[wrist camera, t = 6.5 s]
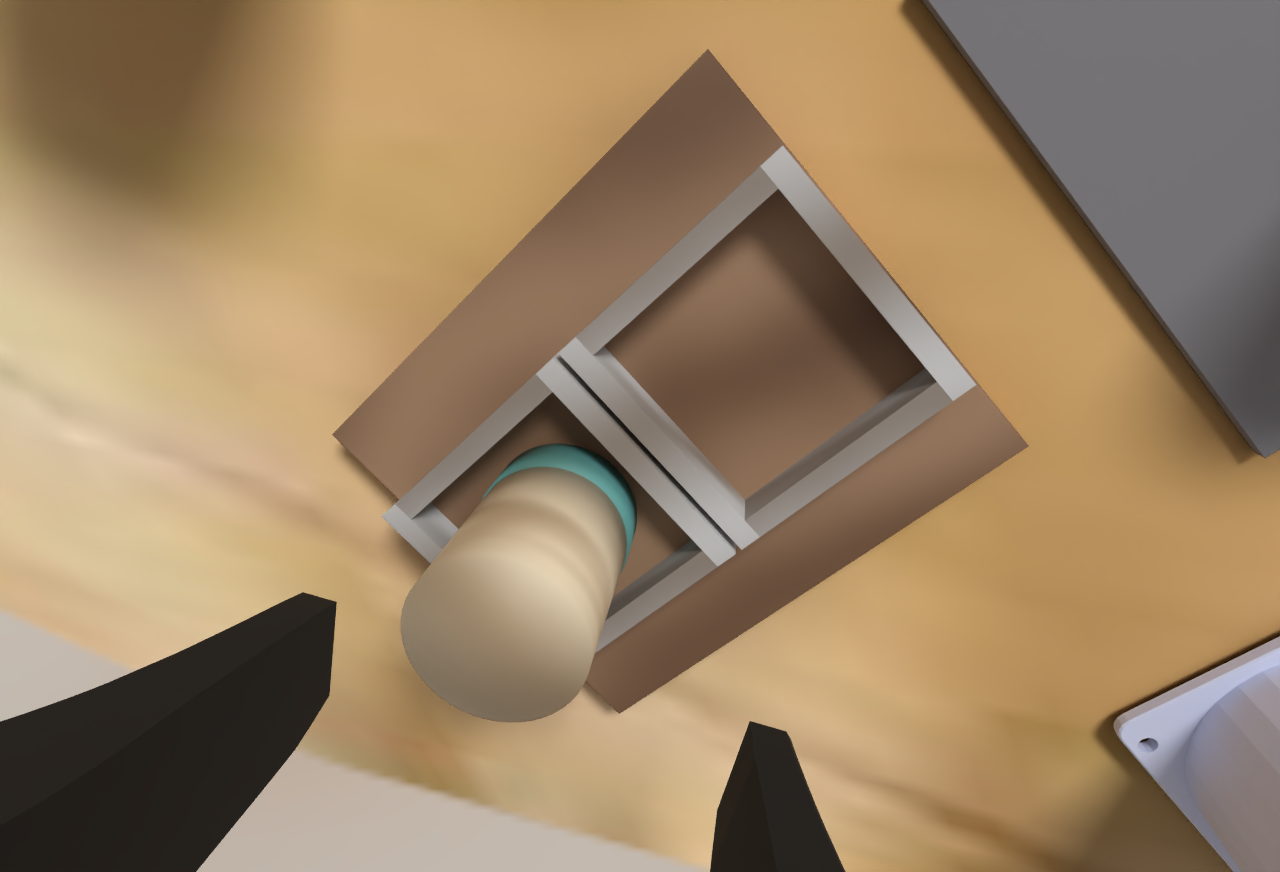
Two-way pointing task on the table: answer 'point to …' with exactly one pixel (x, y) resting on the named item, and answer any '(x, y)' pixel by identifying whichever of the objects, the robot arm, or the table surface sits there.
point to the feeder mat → (1159, 160)
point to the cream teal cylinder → (523, 587)
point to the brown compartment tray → (691, 383)
